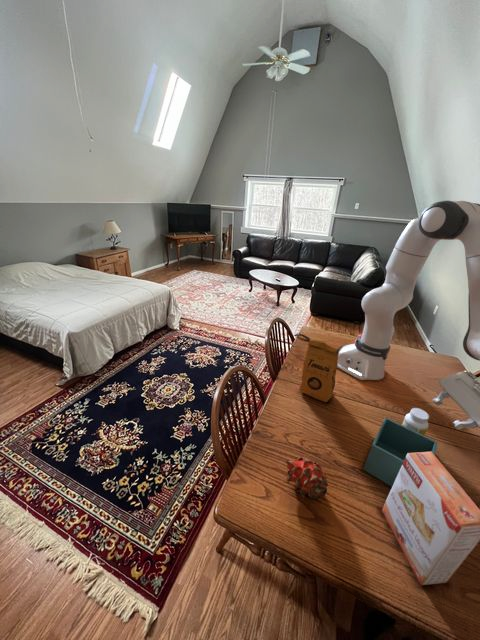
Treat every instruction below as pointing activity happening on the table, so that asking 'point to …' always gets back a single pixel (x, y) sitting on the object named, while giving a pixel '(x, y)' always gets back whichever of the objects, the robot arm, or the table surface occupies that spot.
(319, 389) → the coffee package
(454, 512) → the cracker box
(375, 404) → the table surface
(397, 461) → the trash bin
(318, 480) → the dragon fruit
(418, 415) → the pill bottle
